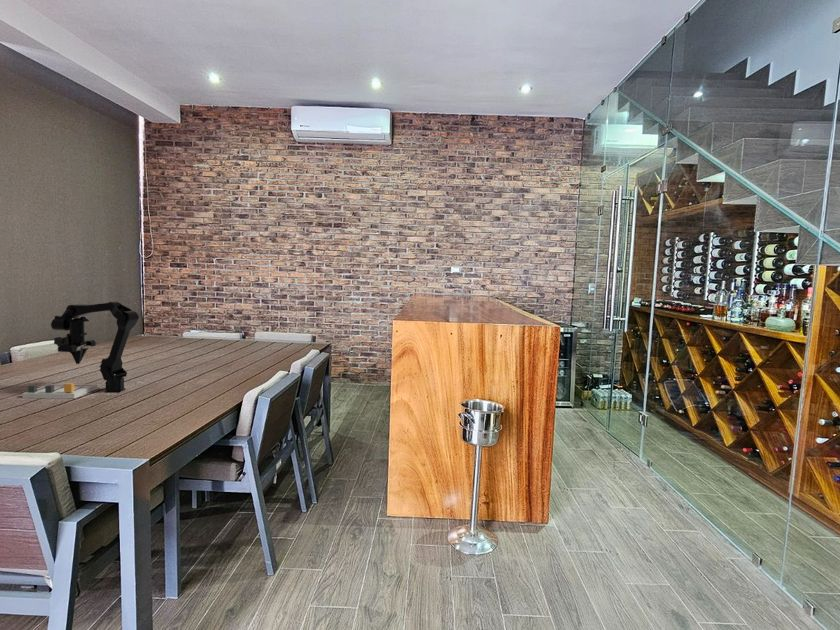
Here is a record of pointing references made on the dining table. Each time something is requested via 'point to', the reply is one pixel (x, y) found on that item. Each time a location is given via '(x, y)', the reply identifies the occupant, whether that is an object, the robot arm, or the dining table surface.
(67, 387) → the block
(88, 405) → the dining table surface
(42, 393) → the breaker panel
